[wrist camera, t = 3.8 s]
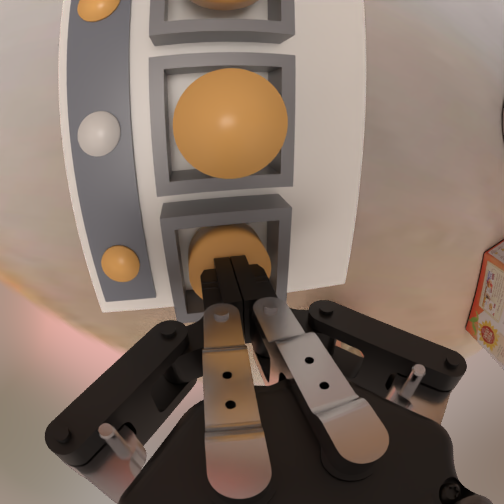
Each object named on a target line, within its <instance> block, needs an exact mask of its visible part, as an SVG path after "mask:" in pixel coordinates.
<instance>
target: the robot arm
mask: <svg viewBox="0 0 504 504" xmlns="http://www.w3.org/2000/svg"><path fill="white" fill-rule="evenodd" d="M503 133H504V110H503ZM200 279H201V288H202V296H203V304H204V315H203V316H202V318H201V319H200V320H199V321H197V322H196V323H194V324H191V325H189V326H185V325H184V324H183V323H181V322H179V321H174V320H168V321H164V322H161V323H159V324H157V325H156V326H154V327H153V328H152V329H151V330H150V331H149V332H148V333H147V334H146V335H145V336H144V337H142V338H141V339H140V340H139V341H138V342H137V343H136V344H135V345H134V346H133V347H132V348H130V349H129V350H128V351H127V352H126V353H125V354H124V355H123V356H122V357H121V358H120V359H119V360H117V361H116V362H115V363H114V364H113V365H112V366H111V367H110V368H109V369H108V370H107V371H105V373H103V374H102V375H101V376H100V377H99V378H98V379H97V380H96V381H95V382H94V383H93V384H91V385H90V386H89V387H88V388H87V389H86V390H85V391H84V392H83V393H82V394H81V395H80V396H79V397H77V398H76V399H75V400H74V401H73V402H72V403H71V404H70V405H69V406H68V407H67V408H66V409H65V410H64V411H63V412H62V413H60V415H58V416H57V417H56V418H55V419H54V420H53V421H52V422H51V423H50V424H49V425H48V427H47V429H46V432H45V441H46V444H47V446H48V448H49V449H51V451H53V452H54V453H55V454H56V455H57V456H58V457H59V458H60V459H61V460H62V461H63V462H64V463H65V464H66V465H68V466H69V467H70V468H71V469H73V470H74V471H75V472H77V473H78V474H79V475H81V476H83V477H85V478H86V479H88V480H89V481H90V482H92V484H94V485H95V486H96V487H97V488H98V489H99V490H101V491H102V492H103V493H104V494H106V495H107V496H108V497H109V498H110V499H111V500H113V501H114V502H115V503H117V504H493V503H492V502H491V501H490V500H489V499H488V498H486V497H484V496H481V495H478V494H475V493H473V492H471V491H470V490H468V489H467V488H465V487H464V486H463V485H462V484H461V483H460V481H459V480H458V478H457V475H456V471H455V466H454V460H453V445H452V441H451V438H450V436H449V434H448V433H447V431H446V430H445V429H444V428H443V427H442V426H441V422H442V419H443V416H444V413H445V409H446V406H447V403H448V399H449V395H450V393H451V392H452V390H453V389H454V388H455V386H456V385H457V383H458V382H459V380H460V379H461V377H462V376H463V375H464V373H465V371H466V368H467V365H466V361H465V359H464V358H463V357H462V356H461V355H460V354H459V353H458V352H456V351H453V350H451V349H448V348H446V347H443V346H441V345H438V344H436V343H433V342H431V341H428V340H426V339H423V338H421V337H418V336H416V335H413V334H411V333H408V332H406V331H403V330H401V329H398V328H396V327H393V326H391V325H388V324H386V323H383V322H381V321H378V320H376V319H373V318H371V317H369V316H366V315H364V314H361V313H359V312H356V311H354V310H351V309H349V308H347V307H344V306H342V305H339V304H337V303H335V302H332V301H327V300H320V301H316V302H314V303H312V304H311V305H310V307H309V310H296V309H291V308H289V307H288V305H287V304H286V302H284V301H283V300H281V299H279V298H278V297H277V295H276V293H275V291H274V289H273V287H272V285H271V283H270V281H269V278H268V276H267V274H266V272H265V270H264V269H263V268H262V267H261V266H259V265H258V264H250V265H249V263H248V261H247V258H246V256H245V255H239V256H230V258H229V257H221V258H214V269H206V270H203V272H202V274H201V276H200ZM337 340H338V341H341V342H343V343H345V344H347V345H349V346H352V347H354V348H356V349H358V350H360V351H361V352H362V353H363V355H364V358H363V357H360V356H358V355H356V354H353V353H351V352H349V351H347V350H345V349H342V348H340V347H338V346H336V341H337ZM244 341H245V343H244ZM246 343H252V345H253V357H254V360H255V362H256V364H257V367H258V369H259V372H260V374H261V376H262V379H263V381H264V383H265V386H254V384H253V378H252V373H251V367H250V362H249V356H248V350H247V346H245V344H246ZM202 376H203V389H204V390H203V391H204V400H202V401H200V402H199V403H197V404H195V405H194V406H193V407H191V408H190V409H189V410H188V411H187V412H186V413H185V414H184V415H183V416H182V418H181V419H180V420H179V422H178V423H177V424H176V426H175V427H174V428H173V430H172V431H171V432H170V434H169V435H168V436H167V438H166V439H165V440H164V442H163V443H162V444H161V445H160V447H159V448H158V449H157V451H156V452H155V453H154V455H153V456H152V457H151V458H150V460H149V461H148V462H147V464H146V465H145V466H144V467H143V465H144V463H145V461H146V457H147V455H146V450H145V448H144V444H145V443H146V442H147V441H148V440H149V439H150V437H151V436H152V435H153V434H154V433H155V432H156V431H157V429H158V428H159V427H160V426H161V425H162V423H163V422H164V421H165V420H166V419H167V418H168V416H169V415H170V414H171V413H172V411H173V410H174V409H175V408H176V407H177V406H178V404H179V403H180V402H181V401H182V399H183V398H184V397H185V396H186V395H187V394H188V392H189V391H190V390H191V389H192V387H193V386H194V385H195V384H196V381H197V378H199V377H202ZM142 467H143V469H142ZM141 469H142V470H141Z"/></svg>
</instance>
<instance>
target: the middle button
mask: <svg viewBox="0 0 504 504" xmlns="http://www.w3.org/2000/svg"><path fill="white" fill-rule="evenodd" d="M287 128H288V116H287V111H286V107H285V104H284V101H283V99H282V97H281V95H280V94H279V92H278V91H277V89H276V88H275V87H274V86H273V85H272V84H271V83H270V82H269V81H268V80H266V79H265V78H263V77H262V76H260V75H258V74H256V73H254V72H251V71H248V70H244V69H239V68H225V69H219V70H215V71H212V72H209V73H207V74H205V75H203V76H201V77H199V78H198V79H196V80H195V81H194V82H193V83H192V84H190V85H189V86H188V87H187V89H186V90H185V91H184V92H183V94H182V95H181V97H180V98H179V101H178V103H177V105H176V108H175V111H174V116H173V134H174V138H175V142H176V144H177V147H178V149H179V151H180V152H181V154H182V156H183V157H184V158H185V159H186V160H187V162H189V163H190V164H191V165H192V166H193V167H194V168H196V169H197V170H199V171H200V172H202V173H204V174H207V175H209V176H212V177H216V178H222V179H235V178H242V177H246V176H249V175H251V174H254V173H256V172H258V171H260V170H261V169H263V168H264V167H266V166H267V165H268V164H269V163H270V162H271V161H272V160H273V159H274V158H275V157H276V156H277V154H278V153H279V151H280V149H281V147H282V146H283V144H284V141H285V138H286V134H287Z"/></svg>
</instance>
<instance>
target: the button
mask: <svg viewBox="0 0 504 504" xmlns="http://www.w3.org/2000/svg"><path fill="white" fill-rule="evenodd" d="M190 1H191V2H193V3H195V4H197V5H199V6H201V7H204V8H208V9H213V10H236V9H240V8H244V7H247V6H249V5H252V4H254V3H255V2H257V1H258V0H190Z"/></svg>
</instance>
